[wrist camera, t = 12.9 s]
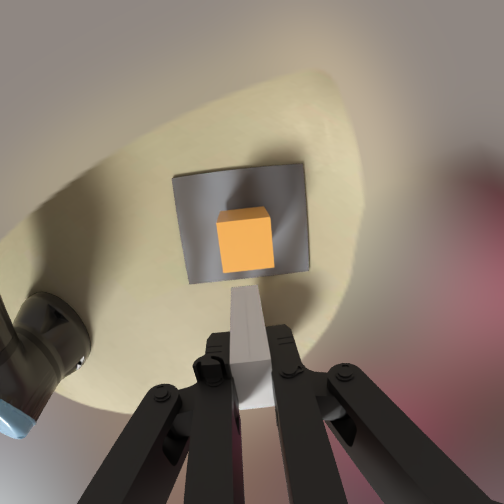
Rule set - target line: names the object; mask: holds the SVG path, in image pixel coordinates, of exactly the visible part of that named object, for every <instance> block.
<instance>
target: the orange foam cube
mask: <svg viewBox="0 0 504 504" xmlns="http://www.w3.org/2000/svg"><path fill="white" fill-rule="evenodd" d="M216 225H217V233H218V240H219V247H220V254H221V261H222V268H223V273H230V272H239V271H248V270H256V269H265V268H274V255H273V243H272V231H271V220H270V216H269V214H268V212H267V211H266V209H265V207H264V206H262V207H253V208H243V209H235V210H226V211H220V213H219V216H218V219H217V222H216Z"/></svg>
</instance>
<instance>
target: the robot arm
mask: <svg viewBox="0 0 504 504" xmlns="http://www.w3.org/2000/svg"><path fill="white" fill-rule="evenodd" d="M89 354H90V339H89V335H88V332H87V330H86V328H85V326H84V324H83V322H82V321H81V319H80V318H79V316H78V315H77V314H76V313H75V311H74V310H73V309H72V308H71V307H70V306H69V305H68V304H67V303H65V302H64V301H63V300H61V299H60V298H58V297H56V296H54V295H52V294H49V293H45V292H38V293H35V294H33V295H32V296H30V297H29V298H28V299H27V300H26V301H25V302H24V303H23V304H22V306H21V308H20V310H19V312H18V314H17V316H16V318H15V320H14V323H13V324H12V322H11V320H10V317H9V315H8V313H7V310H6V308H5V305H4V303H3V300H2V297H1V295H0V432H1V433H3V434H5V435H7V436H9V437H11V438H14V439H23V438H25V437H26V436H27V434H28V433H29V431H30V430H31V428H32V427H33V426H34V425H35V424H36V422H37V420H38V418H39V416H40V414H41V413H42V411H43V409H44V407H45V406H46V404H47V402H48V400H49V399H50V397H51V395H52V394H53V392H54V390H55V389H56V387H57V385H58V384H59V382H60V381H61V380H62V379H64V378H65V377H67V376H68V375H70V374H71V373H73V372H75V371H76V370H78V369H79V368H80V367H81V366H82V365H83V364H84V363H85V361H86V359H87V358H88V356H89ZM193 369H194V373H195V376H196V379H197V383H196V384H194V385H192V386H190V387H187V388H184V389H180V390H178V389H177V388H176V387H175V386H173V385H170V384H160V385H156V386H154V387H153V388H151V389H150V390H149V391H148V392H147V394H146V395H145V397H144V398H143V400H142V401H141V403H140V404H139V406H138V408H137V409H136V411H135V412H134V414H133V415H132V417H131V419H130V420H129V422H128V423H127V425H126V426H125V428H124V430H123V431H122V433H121V434H120V436H119V437H118V439H117V441H116V442H115V444H114V446H113V447H112V448H111V450H110V452H109V453H108V455H107V457H106V458H105V460H104V461H103V463H102V465H101V466H100V468H99V469H98V471H97V472H96V474H95V475H94V477H93V479H92V480H91V482H90V483H89V485H88V487H87V488H86V490H85V492H84V493H83V495H82V496H81V498H80V500H79V501H78V503H77V504H166V502H167V500H168V498H169V495H170V493H171V491H172V489H173V486H174V484H175V482H176V479H177V477H178V474H179V472H180V470H181V468H182V465H183V463H184V461H185V458H186V456H187V454H188V463H187V473H186V483H185V494H184V504H245V498H244V480H243V462H242V440H241V419H240V415H239V409H240V410H243V409H254V408H263V407H270V406H275V411H276V422H277V426H278V432H279V438H280V445H281V452H282V457H283V464H284V471H285V477H286V483H287V490H288V496H289V502H290V504H348V502H347V499H346V495H345V492H344V489H343V485H342V482H341V479H340V475H339V472H338V468H337V465H336V462H335V458H334V456H333V452H332V449H331V445H330V442H329V439H328V435H327V432H326V429H325V426H324V422H323V420H325V423H326V424H327V425H328V427H329V428H330V430H331V431H332V432H333V434H334V435H335V437H336V438H337V440H338V441H339V442H340V444H341V445H342V447H343V448H344V449H345V451H346V452H347V453H348V455H349V456H350V458H351V459H352V461H353V462H354V463H355V465H356V466H357V467H358V469H359V470H360V472H361V473H362V474H363V475H364V477H365V478H366V479H367V481H368V482H369V483H370V485H371V486H372V488H373V489H374V490H375V492H376V493H377V494H378V495H379V497H380V498H381V500H382V501H383V502H384V504H502V503H499V502H496V501H493V500H491V499H490V498H489V497H488V496H487V495H486V494H485V493H484V492H483V491H482V490H481V489H480V488H479V487H478V486H477V485H476V484H475V483H474V482H473V481H472V480H471V479H470V478H469V477H468V476H466V474H465V473H464V472H463V471H462V470H461V469H460V468H459V467H458V466H456V464H455V463H454V462H453V461H451V459H450V458H449V457H448V456H446V455H445V453H444V452H443V451H442V450H441V449H439V448H438V447H437V445H435V443H433V442H432V441H431V440H430V439H429V438H428V437H427V436H426V435H425V434H424V433H423V432H422V431H421V430H420V429H419V428H418V427H417V426H416V425H415V424H414V423H413V421H411V420H410V418H408V416H406V414H405V413H404V412H403V411H402V410H401V409H400V408H399V407H397V405H396V404H394V402H392V400H391V399H390V398H389V397H388V396H387V395H386V394H385V393H384V392H383V391H382V390H381V389H380V388H379V387H377V385H376V384H375V383H374V382H373V381H372V380H371V379H370V378H369V377H368V376H367V375H366V374H365V373H364V372H363V371H362V370H361V369H360V368H358V367H357V366H355V365H353V364H350V363H341V364H338V365H335V366H333V367H332V368H331V369H330V370H329V371H328V373H324V372H314V371H311V370H309V369H307V368H305V366H304V365H303V364H302V362H301V359H300V356H299V353H298V350H297V347H296V343H295V340H294V337H293V334H292V331H291V329H290V328H289V327H288V326H286V325H285V324H283V325H275V326H268V327H265V323H264V317H263V311H262V306H261V300H260V295H259V289H258V285H249V286H241V287H232V288H231V316H230V332H220V333H212V334H211V335H210V337H209V338H208V339H207V344H206V351H205V355H204V356H202V357H199V358H198V359H197V360H196V361H195V362H194V364H193ZM188 451H189V453H188Z"/></svg>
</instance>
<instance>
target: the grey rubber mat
mask: <svg viewBox="0 0 504 504" xmlns="http://www.w3.org/2000/svg"><path fill="white" fill-rule="evenodd" d="M172 184H173V191H174V198H175V205H176V211H177V218H178V224H179V230H180V236H181V242H182V248H183V253H184V259H185V264H186V270H187V275H188V280H189V284H197V283H207V282H217V281H227V280H236V279H245V278H254V277H263V276H271V275H280V274H288V273H296V272H304V271H309V256H308V232H307V214H306V198H305V183H304V171H303V164H290V165H277V166H265V167H254V168H244V169H235V170H227V171H218V172H211V173H203V174H196V175H189V176H183V177H176V178H172ZM262 206H264V207H265V209H266V211H267V212H268V214H269V216H270V220H271V231H272V243H273V255H274V268H265V269H256V270H248V271H239V272H230V273H223V268H222V261H221V254H220V247H219V240H218V233H217V225H216V222H217V219H218V216H219V213H220V211H226V210H235V209H243V208H253V207H262Z"/></svg>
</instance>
